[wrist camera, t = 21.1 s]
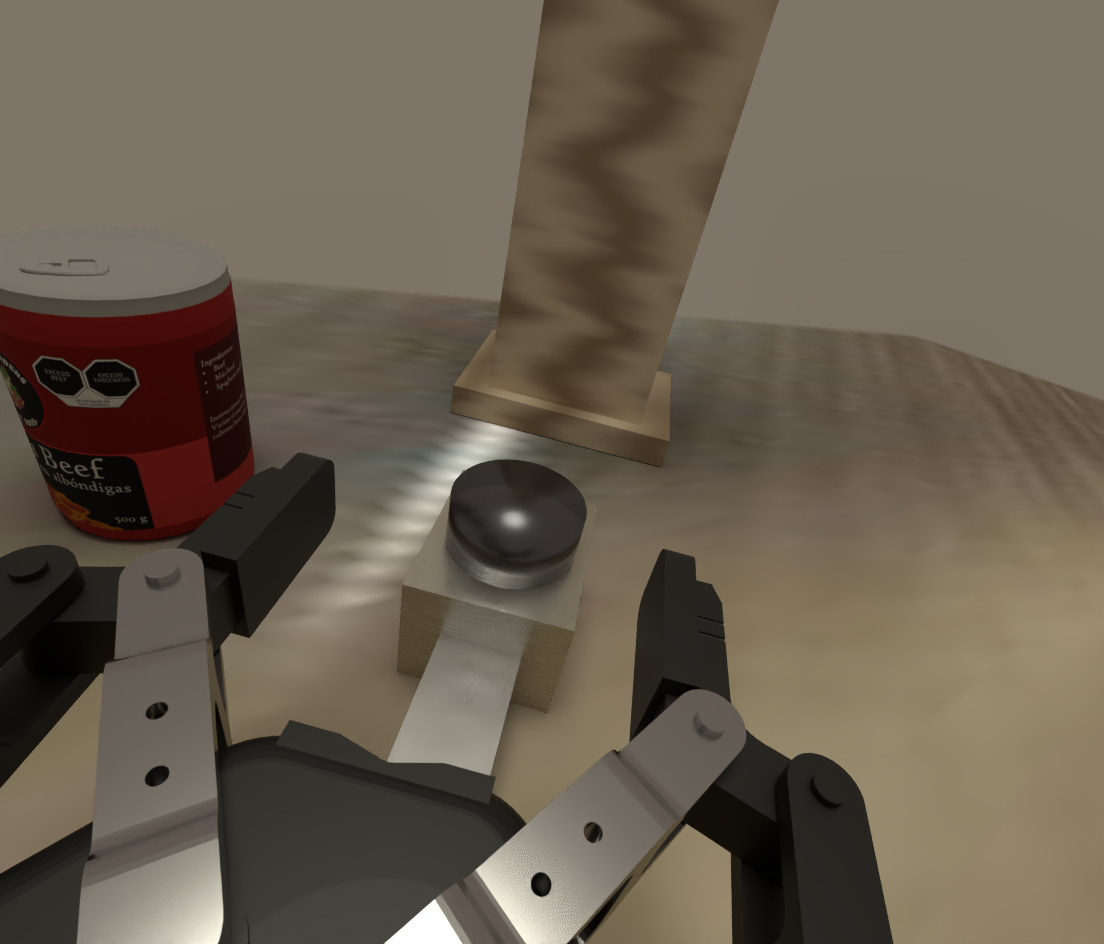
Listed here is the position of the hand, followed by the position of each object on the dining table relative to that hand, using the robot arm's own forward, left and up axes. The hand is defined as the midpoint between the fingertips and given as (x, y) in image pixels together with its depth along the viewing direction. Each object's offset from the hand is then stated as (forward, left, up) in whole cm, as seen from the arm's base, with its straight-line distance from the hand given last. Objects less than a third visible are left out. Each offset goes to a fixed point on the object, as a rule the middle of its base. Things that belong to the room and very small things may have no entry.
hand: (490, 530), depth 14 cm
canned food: (-17, +9, -11) cm, 22 cm away
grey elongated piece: (0, +1, -11) cm, 11 cm away
